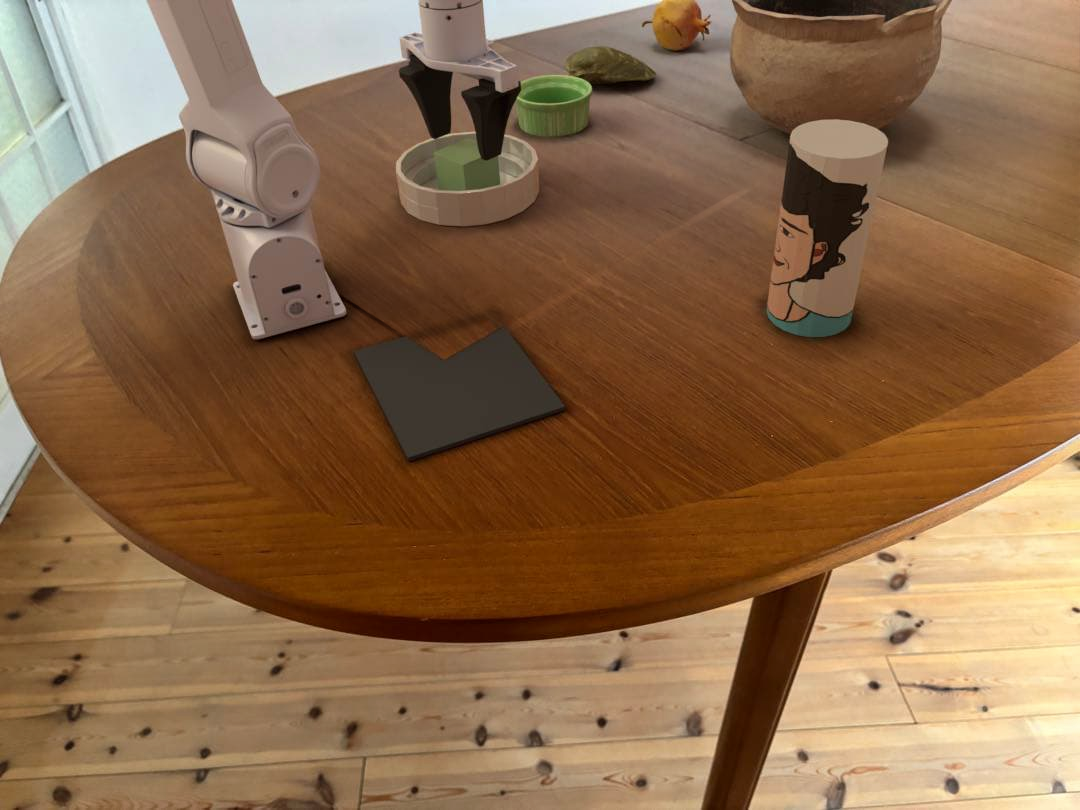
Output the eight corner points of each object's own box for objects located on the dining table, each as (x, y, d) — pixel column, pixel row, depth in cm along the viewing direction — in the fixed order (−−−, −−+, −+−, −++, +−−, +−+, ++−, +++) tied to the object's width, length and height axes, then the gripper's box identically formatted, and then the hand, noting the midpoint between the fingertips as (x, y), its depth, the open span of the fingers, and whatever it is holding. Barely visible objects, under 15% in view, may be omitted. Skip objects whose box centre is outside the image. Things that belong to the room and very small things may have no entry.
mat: (565, 410, 67) (565, 406, 66) (408, 461, 63) (407, 457, 63) (493, 315, 77) (492, 311, 76) (354, 354, 73) (353, 350, 73)
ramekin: (512, 114, 110) (510, 77, 107) (587, 108, 110) (586, 71, 107) (517, 145, 103) (515, 106, 100) (597, 138, 103) (597, 100, 100)
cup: (797, 282, 78) (824, 112, 69) (867, 312, 75) (906, 136, 65) (749, 314, 75) (771, 140, 66) (820, 347, 71) (854, 167, 62)
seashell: (670, 62, 116) (628, 16, 108) (649, 116, 115) (605, 73, 108) (608, 62, 122) (565, 18, 115) (588, 112, 122) (543, 72, 115)
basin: (561, 209, 90) (560, 172, 88) (427, 244, 86) (422, 205, 84) (507, 157, 100) (504, 121, 98) (384, 185, 96) (378, 149, 94)
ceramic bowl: (843, 188, 91) (871, 33, 82) (679, 128, 104) (687, -12, 95) (960, 122, 102) (997, -21, 93) (799, 75, 115) (816, -55, 106)
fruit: (629, 6, 121) (698, 15, 117) (653, -21, 124) (721, -13, 120) (635, 53, 127) (701, 63, 122) (658, 26, 130) (723, 35, 125)
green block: (501, 191, 93) (497, 149, 90) (467, 207, 91) (463, 165, 88) (472, 178, 96) (468, 137, 93) (438, 193, 93) (433, 152, 90)
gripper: (539, 4, 79) (546, 152, 88) (433, -24, 87) (449, 114, 96) (478, 25, 76) (491, 177, 84) (374, -6, 84) (395, 136, 92)
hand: (465, 145), depth 90 cm, fingers open, 7 cm apart
